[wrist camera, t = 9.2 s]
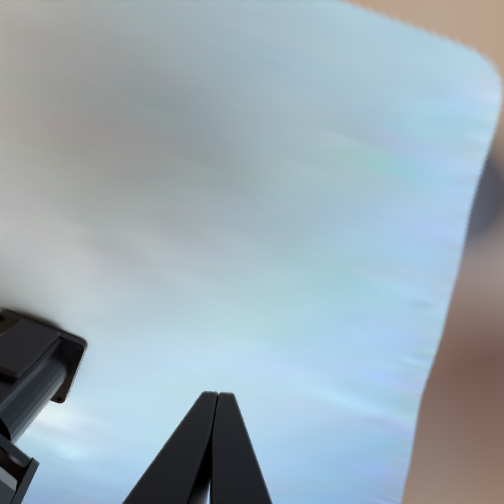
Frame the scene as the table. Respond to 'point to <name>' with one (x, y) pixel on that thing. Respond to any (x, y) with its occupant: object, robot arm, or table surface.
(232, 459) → the robot arm
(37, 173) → the table surface
